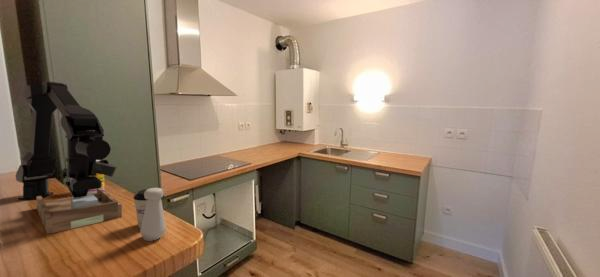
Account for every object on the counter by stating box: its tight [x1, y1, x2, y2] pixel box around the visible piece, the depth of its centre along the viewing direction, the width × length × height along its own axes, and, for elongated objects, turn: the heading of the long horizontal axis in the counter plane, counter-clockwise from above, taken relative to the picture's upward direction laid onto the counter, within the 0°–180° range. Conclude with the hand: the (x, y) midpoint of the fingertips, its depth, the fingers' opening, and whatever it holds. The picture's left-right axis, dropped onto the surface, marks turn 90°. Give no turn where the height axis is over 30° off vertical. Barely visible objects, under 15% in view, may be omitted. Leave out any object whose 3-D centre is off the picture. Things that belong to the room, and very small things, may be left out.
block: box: [71, 194, 98, 210], centre depth 71 cm, size 6×5×4 cm
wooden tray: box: [35, 188, 123, 235], centre depth 76 cm, size 24×16×5 cm, turn 51°
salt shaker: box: [139, 187, 167, 242], centre depth 64 cm, size 6×6×13 cm
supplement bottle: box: [87, 160, 105, 195], centre depth 96 cm, size 7×7×13 cm
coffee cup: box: [133, 188, 148, 229], centre depth 71 cm, size 7×7×10 cm
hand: (80, 205), depth 74 cm, fingers closed
